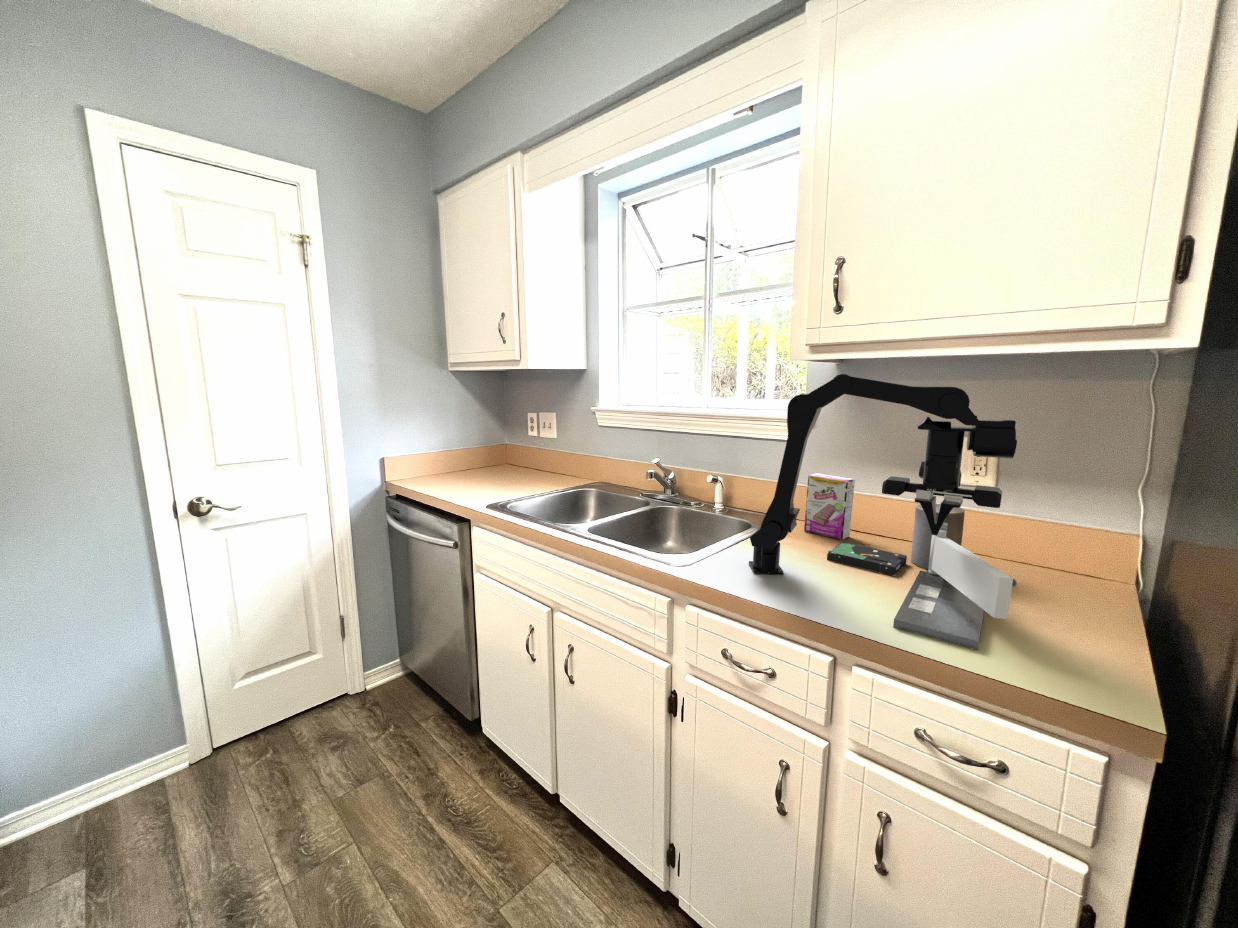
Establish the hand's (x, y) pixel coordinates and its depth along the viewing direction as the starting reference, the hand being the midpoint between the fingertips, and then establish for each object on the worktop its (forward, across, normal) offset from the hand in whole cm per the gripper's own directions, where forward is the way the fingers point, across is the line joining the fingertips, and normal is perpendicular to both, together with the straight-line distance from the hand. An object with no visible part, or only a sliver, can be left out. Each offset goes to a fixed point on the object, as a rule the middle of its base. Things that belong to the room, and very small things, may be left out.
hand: (934, 534), depth 96 cm
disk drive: (+14, +14, -15) cm, 25 cm away
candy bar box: (+13, +28, -31) cm, 44 cm away
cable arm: (+10, -6, +1) cm, 12 cm away
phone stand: (+13, -3, +2) cm, 14 cm away
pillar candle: (+13, +2, -23) cm, 27 cm away
